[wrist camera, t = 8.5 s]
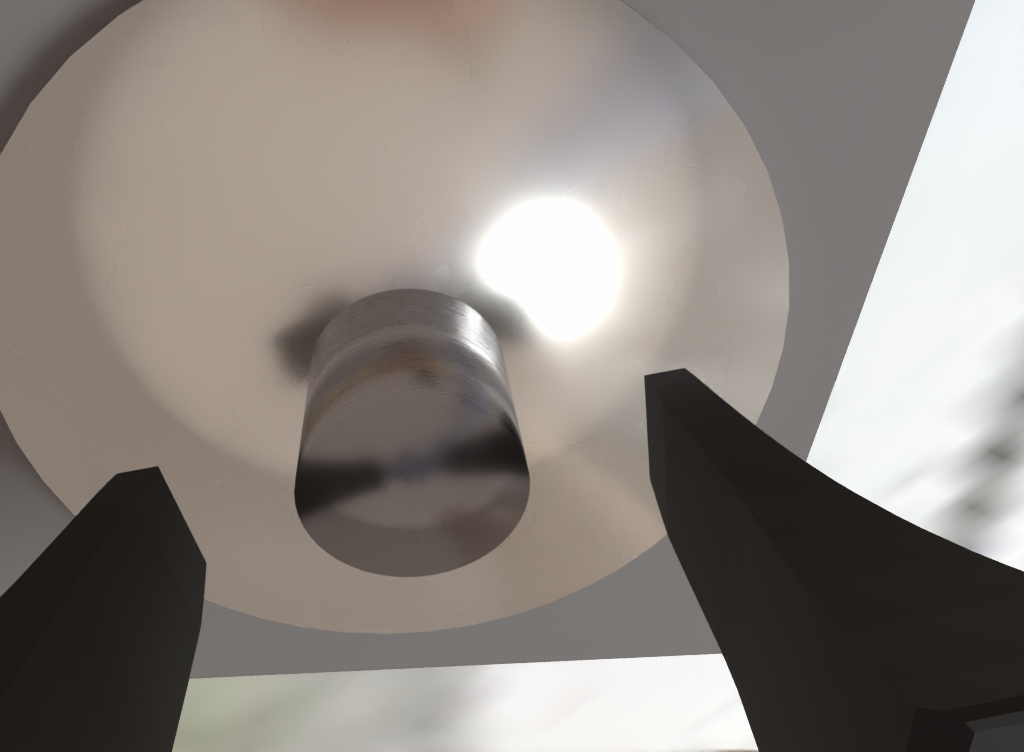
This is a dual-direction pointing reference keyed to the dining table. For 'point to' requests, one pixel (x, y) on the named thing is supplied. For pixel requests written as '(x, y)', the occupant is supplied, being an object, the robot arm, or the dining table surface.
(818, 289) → the charcoal mat
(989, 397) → the dining table surface
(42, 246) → the steel lid
